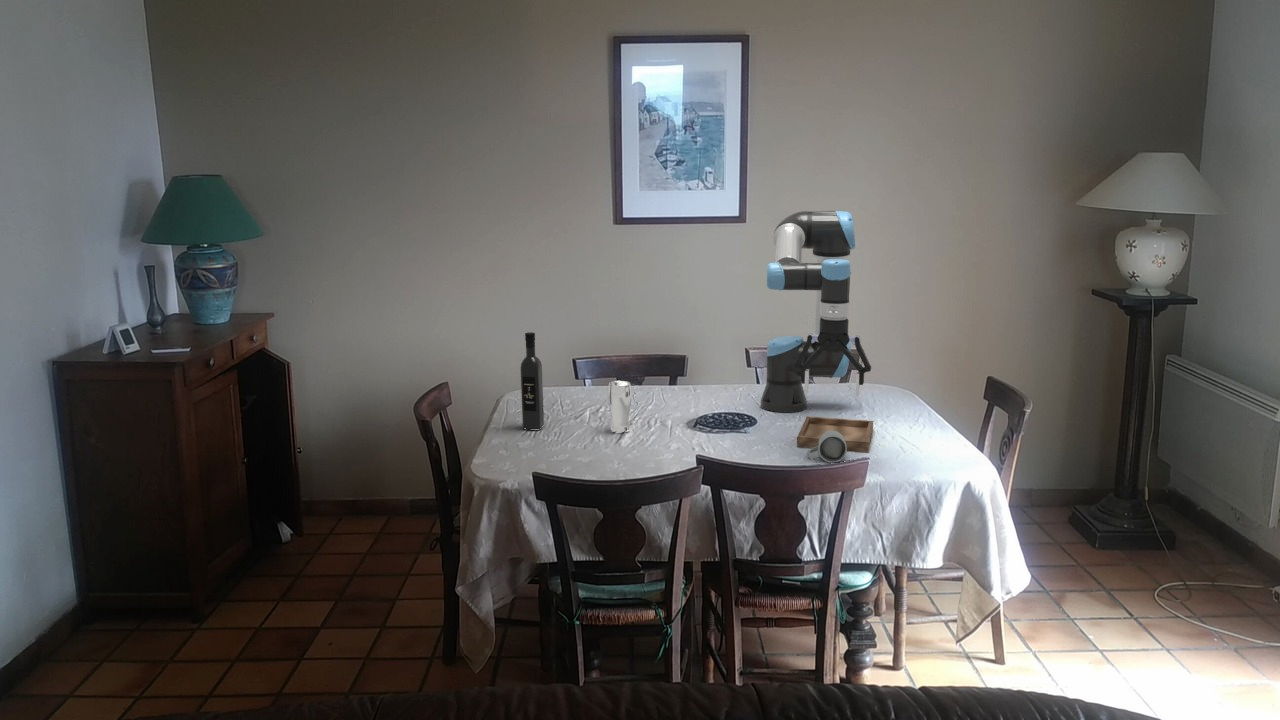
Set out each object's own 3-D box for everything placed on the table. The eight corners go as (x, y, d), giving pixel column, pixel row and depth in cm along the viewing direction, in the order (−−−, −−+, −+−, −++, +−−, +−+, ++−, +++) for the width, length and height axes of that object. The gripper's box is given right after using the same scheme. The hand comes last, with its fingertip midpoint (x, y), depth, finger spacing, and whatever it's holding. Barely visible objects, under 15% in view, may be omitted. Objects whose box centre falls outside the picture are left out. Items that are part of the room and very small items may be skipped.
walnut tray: (796, 446, 269) (797, 436, 268) (806, 425, 289) (806, 416, 289) (868, 452, 263) (868, 442, 262) (872, 430, 284) (873, 420, 283)
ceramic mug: (844, 454, 262) (845, 427, 261) (846, 463, 254) (847, 436, 253) (806, 453, 264) (806, 427, 262) (807, 462, 256) (807, 435, 254)
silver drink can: (635, 429, 288) (634, 381, 285) (625, 435, 282) (624, 387, 278) (615, 426, 291) (614, 379, 287) (605, 432, 285) (604, 384, 281)
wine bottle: (539, 431, 287) (536, 335, 280) (521, 430, 288) (517, 334, 281) (545, 425, 292) (541, 331, 286) (527, 425, 293) (523, 331, 287)
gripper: (785, 318, 250) (783, 395, 255) (881, 321, 243) (878, 401, 247) (789, 313, 257) (787, 388, 262) (883, 317, 250) (879, 394, 254)
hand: (831, 394), depth 254 cm, fingers open, 13 cm apart
